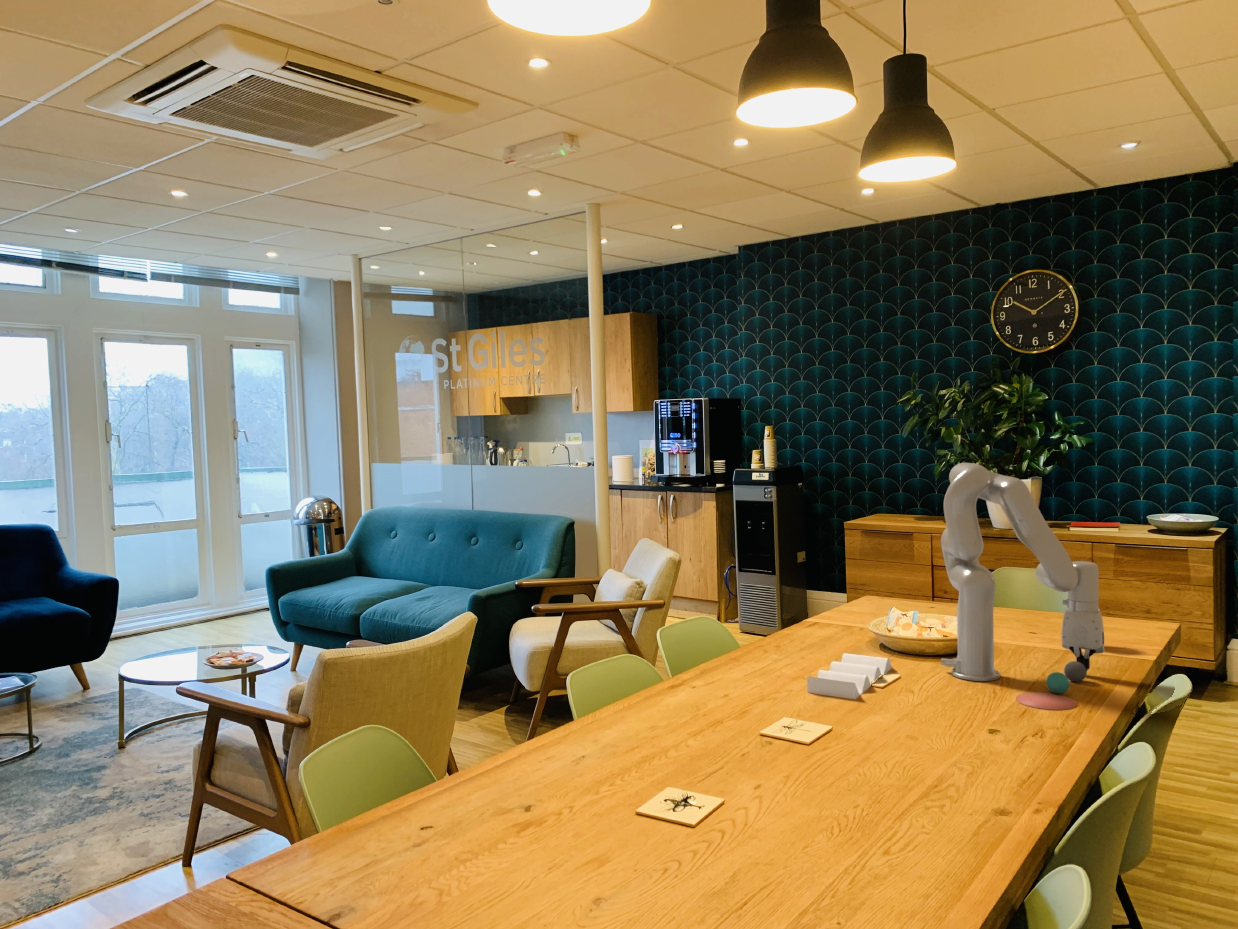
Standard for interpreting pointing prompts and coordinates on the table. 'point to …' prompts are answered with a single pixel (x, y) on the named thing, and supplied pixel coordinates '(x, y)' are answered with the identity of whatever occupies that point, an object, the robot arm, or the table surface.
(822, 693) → the white taco holder
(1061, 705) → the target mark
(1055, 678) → the object ball
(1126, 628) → the table surface
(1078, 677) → the gray ball
